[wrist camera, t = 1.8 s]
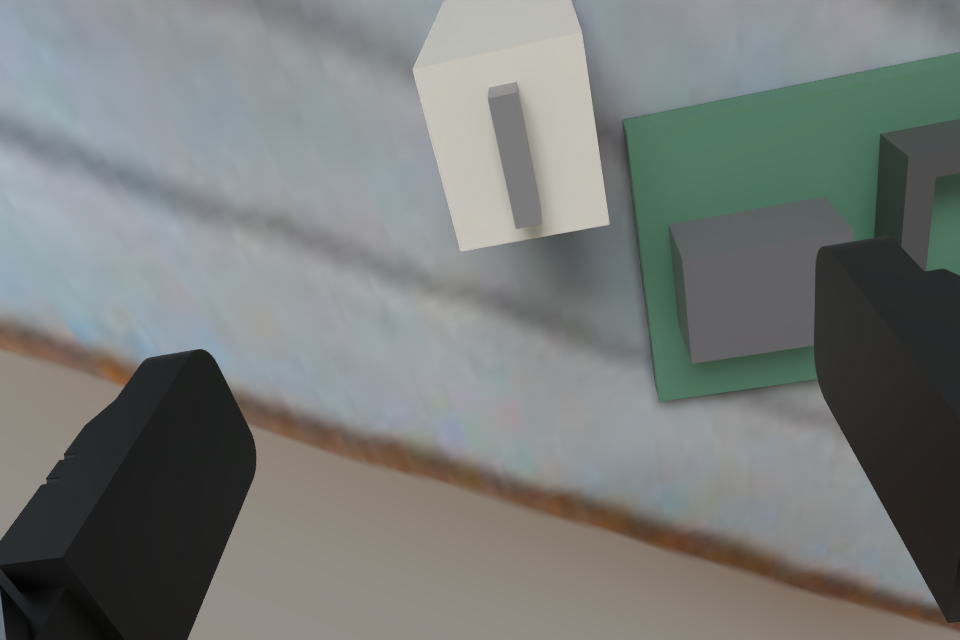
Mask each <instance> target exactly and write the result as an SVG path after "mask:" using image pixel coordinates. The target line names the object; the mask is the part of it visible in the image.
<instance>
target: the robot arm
mask: <svg viewBox="0 0 960 640" xmlns="http://www.w3.org/2000/svg"><path fill="white" fill-rule="evenodd" d="M814 361H815V368H816V374H817V378H818V382H819V386H820V389H821V392H822V394H823V397H824V399H825V401H826V403H827V405H828V406H829V408H830V410H831V412H832V414H833V415H834V417H835V419H836V421H837V423H838V425H839V426H840V428H841V430H842V432H843V434H844V435H845V437H846V439H847V441H848V443H849V444H850V446H851V448H852V450H853V452H854V453H855V455H856V457H857V459H858V461H859V463H860V464H861V466H862V468H863V470H864V472H865V473H866V475H867V477H868V479H869V481H870V482H871V484H872V486H873V488H874V490H875V491H876V493H877V495H878V497H879V499H880V501H881V502H882V504H883V506H884V508H885V510H886V511H887V513H888V515H889V517H890V519H891V520H892V522H893V524H894V526H895V528H896V529H897V531H898V533H899V535H900V537H901V539H902V540H903V542H904V544H905V546H906V548H907V549H908V551H909V553H910V555H911V557H912V558H913V560H914V562H915V564H916V566H917V567H918V569H919V571H920V573H921V575H922V577H923V578H924V580H925V582H926V584H927V586H928V587H929V589H930V591H931V593H932V595H933V596H934V598H935V600H936V602H937V604H938V606H939V607H940V609H941V611H942V613H943V615H944V616H945V618H946V620H947V622H948V623H951V622H960V275H957V274H955V273H953V272H951V271H949V270H946V269H944V268H943V269H937V270H931V271H924V270H923V269H922V268H921V267H920V266H919V265H918V264H917V263H916V262H915V261H914V260H913V259H912V258H911V257H910V256H909V255H908V254H907V252H906V251H905V250H904V249H903V248H902V247H901V246H900V245H899V244H898V243H897V242H896V241H895V240H894V239H893V238H891V237H889V236H882V237H876V238H870V239H864V240H858V241H852V242H846V243H840V244H834V245H828V246H823V247H821V248H820V249H819V251H818V253H817V257H816V266H815V314H814ZM64 457H65V458H64V460H59V462H58V463H57V464H56V466H55V467H54V468H53V470H52V471H51V473H50V474H49V475H48V477H47V478H46V480H47V484H43V485H41V486H40V487H39V489H38V490H37V492H36V493H35V494H34V496H33V497H32V499H31V500H30V501H29V502H28V504H27V505H26V507H25V508H24V509H23V511H22V512H21V513H20V515H19V516H18V517H17V519H16V520H15V521H14V523H13V524H12V526H11V527H10V528H9V530H8V531H7V532H6V534H5V535H4V537H3V538H2V539H1V541H0V640H187V639H188V636H189V634H190V632H191V629H192V627H193V624H194V622H195V620H196V617H197V614H198V612H199V610H200V607H201V605H202V603H203V600H204V598H205V595H206V593H207V590H208V588H209V585H210V583H211V580H212V578H213V575H214V573H215V571H216V568H217V566H218V564H219V561H220V559H221V556H222V554H223V551H224V549H225V546H226V544H227V541H228V539H229V536H230V534H231V532H232V529H233V527H234V524H235V522H236V520H237V517H238V515H239V512H240V510H241V507H242V505H243V502H244V500H245V498H246V495H247V492H248V490H249V488H250V485H251V483H252V481H253V478H254V475H255V470H256V449H255V443H254V439H253V436H252V433H251V431H250V429H249V427H248V425H247V423H246V421H245V419H244V417H243V415H242V413H241V411H240V409H239V407H238V405H237V403H236V401H235V399H234V397H233V395H232V393H231V391H230V388H229V386H228V384H227V382H226V380H225V378H224V376H223V374H222V372H221V370H220V368H219V366H218V364H217V363H216V361H215V359H214V358H213V357H212V355H211V354H210V353H208V352H207V351H205V350H202V349H197V350H191V351H185V352H179V353H173V354H167V355H161V356H156V357H150V358H147V359H146V360H144V361H143V362H142V364H141V365H140V366H139V368H138V369H137V370H136V372H135V373H134V375H133V376H132V377H131V379H130V380H129V382H128V383H127V384H126V386H125V387H124V389H123V390H122V391H121V393H120V394H119V396H118V397H117V399H116V400H115V401H113V402H112V403H111V404H110V405H109V406H108V407H106V408H105V409H104V410H103V411H102V412H100V413H99V414H98V415H97V416H96V417H94V418H93V419H92V420H91V421H90V422H89V423H87V424H86V425H85V426H84V428H83V429H82V430H81V432H80V433H79V434H78V436H77V437H76V439H75V440H74V441H73V443H72V444H71V445H70V447H69V448H68V449H67V451H66V452H65V453H64Z"/></svg>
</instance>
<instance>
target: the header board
mask: <svg viewBox="0 0 960 640" xmlns="http://www.w3.org/2000/svg"><path fill="white" fill-rule="evenodd" d="M623 128H624V136H625V144H626V152H627V160H628V168H629V176H630V184H631V192H632V200H633V209H634V217H635V225H636V233H637V241H638V249H639V257H640V265H641V273H642V281H643V290H644V298H645V306H646V314H647V322H648V330H649V338H650V346H651V354H652V362H653V370H654V379H655V386H656V390H657V394H658V398H659V402H661V401H668V400H675V399H682V398H689V397H696V396H703V395H710V394H717V393H724V392H731V391H738V390H745V389H752V388H759V387H766V386H773V385H780V384H787V383H794V382H801V381H808V380H815V379H818V378H817V374H816V368H815V361H814V314H815V266H816V257H817V253H818V251H819V249H820V248H821V247H823V246H828V245H834V244H840V243H846V242H852V241H858V240H864V239H870V238H876V237H882V236H889V237H891V238H893V239H894V240H895V241H896V242H897V243H898V244H899V245H900V246H901V247H902V248H903V249H904V250H905V251H906V252H907V254H908V255H909V256H910V257H911V258H912V259H913V260H914V261H915V262H916V263H917V264H918V265H919V266H920V267H921V268H922V269H923V270H924V271H931V270H937V269H943V268H944V269H946V270H949V271H951V272H953V273H955V274H957V275H960V52H959V53H954V54H949V55H944V56H939V57H934V58H929V59H924V60H919V61H914V62H909V63H904V64H899V65H894V66H889V67H884V68H879V69H874V70H869V71H864V72H859V73H854V74H849V75H844V76H839V77H834V78H829V79H824V80H819V81H814V82H809V83H804V84H799V85H794V86H789V87H784V88H779V89H774V90H769V91H764V92H759V93H754V94H749V95H744V96H739V97H734V98H729V99H724V100H720V101H715V102H710V103H705V104H700V105H695V106H690V107H685V108H680V109H675V110H670V111H665V112H660V113H655V114H650V115H645V116H640V117H635V118H630V119H625V120H623Z"/></svg>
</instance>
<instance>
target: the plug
mask: <svg viewBox="0 0 960 640" xmlns="http://www.w3.org/2000/svg"><path fill="white" fill-rule="evenodd" d="M413 73H414V77H415V81H416V85H417V89H418V92H419V96H420V100H421V104H422V107H423V111H424V115H425V119H426V123H427V126H428V130H429V134H430V138H431V142H432V145H433V149H434V153H435V157H436V160H437V164H438V168H439V172H440V176H441V179H442V183H443V187H444V191H445V195H446V198H447V202H448V206H449V210H450V213H451V217H452V221H453V225H454V229H455V232H456V236H457V240H458V244H459V248H460V251H467V250H472V249H478V248H483V247H489V246H494V245H500V244H505V243H511V242H517V241H522V240H528V239H533V238H539V237H544V236H550V235H555V234H561V233H566V232H572V231H577V230H583V229H589V228H594V227H600V226H605V225H610V224H609V217H608V210H607V203H606V196H605V189H604V182H603V175H602V168H601V161H600V154H599V147H598V140H597V133H596V126H595V119H594V112H593V105H592V98H591V91H590V84H589V77H588V71H587V64H586V57H585V50H584V43H583V36H582V31H581V28H580V25H579V22H578V19H577V16H576V13H575V10H574V7H573V4H572V1H571V0H446V1H443V3H442V6H441V8H440V10H439V12H438V15H437V17H436V19H435V21H434V23H433V26H432V28H431V30H430V32H429V34H428V37H427V39H426V41H425V43H424V45H423V48H422V50H421V52H420V54H419V57H418V59H417V61H416V63H415V65H414V68H413Z"/></svg>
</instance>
